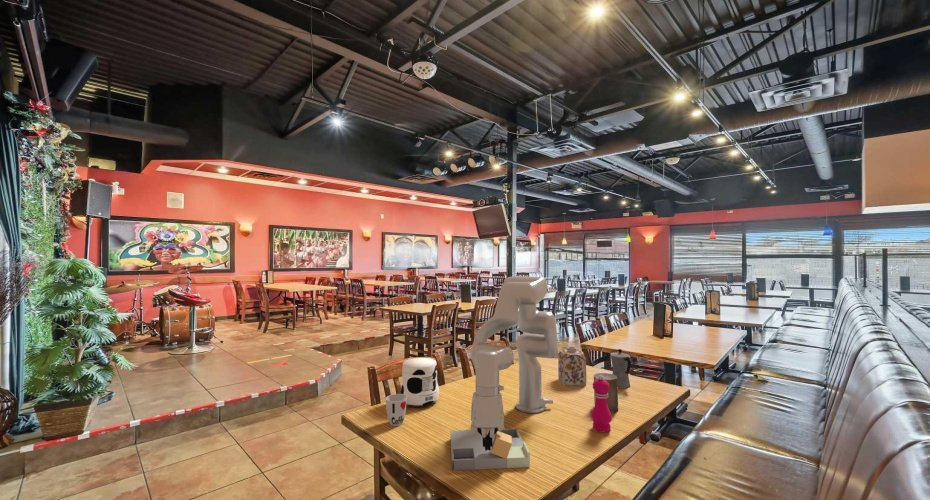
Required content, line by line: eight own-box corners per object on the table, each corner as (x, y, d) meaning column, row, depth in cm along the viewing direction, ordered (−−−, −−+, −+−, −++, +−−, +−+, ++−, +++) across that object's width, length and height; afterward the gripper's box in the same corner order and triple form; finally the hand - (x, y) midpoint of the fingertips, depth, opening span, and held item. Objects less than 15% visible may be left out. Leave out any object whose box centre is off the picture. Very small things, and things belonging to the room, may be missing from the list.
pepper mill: (609, 434, 139) (608, 379, 140) (589, 430, 143) (588, 376, 143) (613, 427, 145) (612, 374, 146) (594, 423, 149) (593, 371, 150)
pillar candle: (621, 407, 164) (621, 372, 164) (612, 414, 157) (611, 377, 157) (599, 402, 171) (599, 368, 171) (590, 408, 163) (589, 373, 164)
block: (506, 450, 122) (511, 436, 122) (506, 459, 117) (511, 443, 117) (491, 445, 123) (496, 430, 123) (491, 453, 118) (496, 437, 118)
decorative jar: (586, 386, 191) (586, 350, 192) (563, 386, 192) (563, 350, 192) (580, 378, 203) (579, 344, 204) (558, 378, 204) (557, 344, 204)
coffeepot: (605, 381, 199) (604, 346, 199) (621, 380, 200) (621, 345, 201) (621, 391, 184) (621, 353, 184) (639, 390, 185) (639, 353, 185)
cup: (389, 429, 145) (389, 402, 145) (383, 421, 152) (383, 396, 152) (409, 424, 149) (409, 399, 149) (403, 417, 156) (402, 392, 156)
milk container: (410, 393, 183) (410, 356, 183) (444, 397, 178) (444, 358, 178) (393, 407, 166) (393, 366, 166) (430, 412, 161) (430, 369, 161)
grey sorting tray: (517, 436, 138) (516, 424, 138) (529, 467, 118) (529, 452, 118) (450, 439, 137) (450, 426, 137) (452, 470, 117) (452, 455, 117)
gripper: (508, 385, 125) (509, 442, 125) (463, 386, 125) (463, 443, 124) (512, 393, 118) (513, 454, 117) (464, 394, 117) (464, 455, 116)
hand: (487, 448), depth 121 cm, fingers closed
